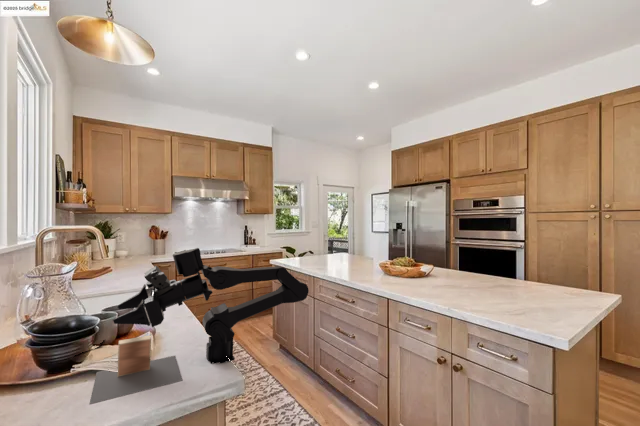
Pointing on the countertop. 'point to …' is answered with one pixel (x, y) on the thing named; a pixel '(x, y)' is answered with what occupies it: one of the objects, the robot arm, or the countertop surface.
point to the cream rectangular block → (134, 355)
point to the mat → (135, 380)
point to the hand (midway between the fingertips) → (116, 314)
